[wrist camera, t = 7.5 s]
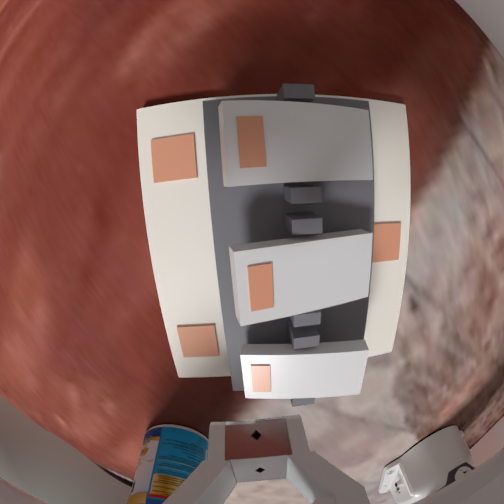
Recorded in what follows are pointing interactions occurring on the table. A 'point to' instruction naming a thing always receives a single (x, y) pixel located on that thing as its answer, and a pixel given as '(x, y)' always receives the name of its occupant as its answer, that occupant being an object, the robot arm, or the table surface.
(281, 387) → the white rectangular block
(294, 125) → the rocker
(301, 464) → the robot arm
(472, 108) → the table surface
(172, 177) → the switch unit
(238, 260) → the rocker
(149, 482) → the beverage bottle
